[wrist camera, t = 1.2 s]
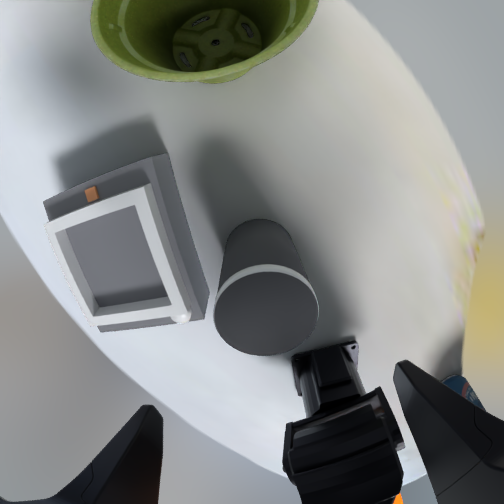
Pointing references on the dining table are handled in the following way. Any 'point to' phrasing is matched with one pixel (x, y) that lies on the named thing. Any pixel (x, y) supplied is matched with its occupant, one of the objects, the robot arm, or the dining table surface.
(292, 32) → the plant pot
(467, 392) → the soda can
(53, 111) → the dining table surface
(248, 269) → the lens
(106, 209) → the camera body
